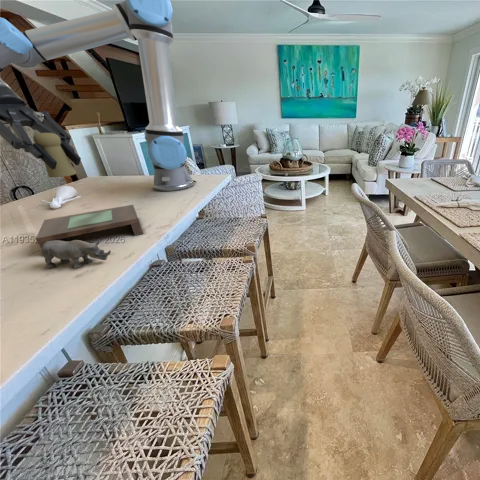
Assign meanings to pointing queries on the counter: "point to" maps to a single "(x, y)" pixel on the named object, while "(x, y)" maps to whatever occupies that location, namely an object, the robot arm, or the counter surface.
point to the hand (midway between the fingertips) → (66, 163)
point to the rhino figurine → (72, 252)
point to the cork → (55, 154)
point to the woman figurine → (62, 196)
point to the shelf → (88, 223)
